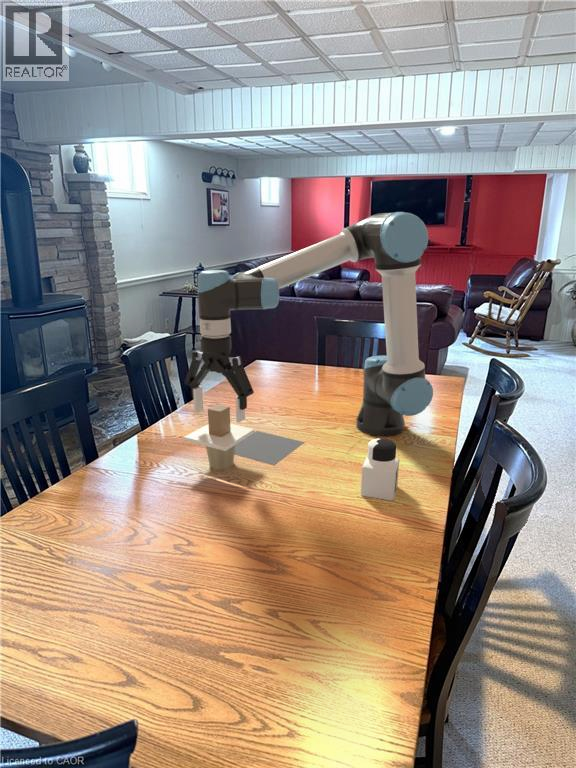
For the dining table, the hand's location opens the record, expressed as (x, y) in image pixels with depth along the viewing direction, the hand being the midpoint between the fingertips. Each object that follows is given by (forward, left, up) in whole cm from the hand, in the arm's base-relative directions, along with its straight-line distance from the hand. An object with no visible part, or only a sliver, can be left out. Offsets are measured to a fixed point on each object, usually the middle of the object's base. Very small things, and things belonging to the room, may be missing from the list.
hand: (219, 415), depth 129 cm
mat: (-4, -15, -14) cm, 21 cm away
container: (-41, -9, -15) cm, 44 cm away
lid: (0, 0, -6) cm, 6 cm away
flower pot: (0, 0, -15) cm, 15 cm away
